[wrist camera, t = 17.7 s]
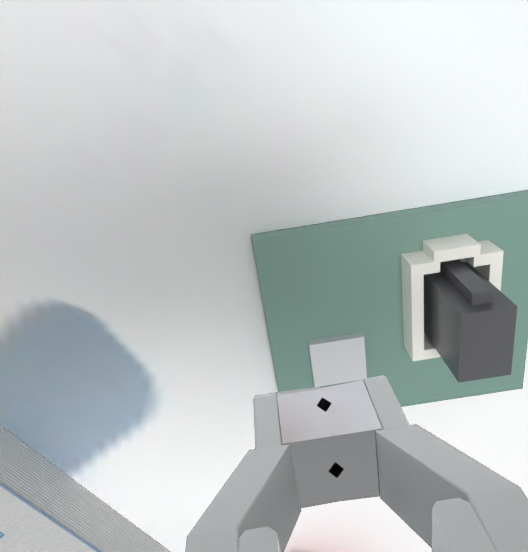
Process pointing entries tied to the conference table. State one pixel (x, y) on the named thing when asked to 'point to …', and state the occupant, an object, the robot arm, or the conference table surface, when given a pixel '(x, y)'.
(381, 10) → the conference table surface
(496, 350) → the plug
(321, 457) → the robot arm
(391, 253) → the board
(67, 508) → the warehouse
